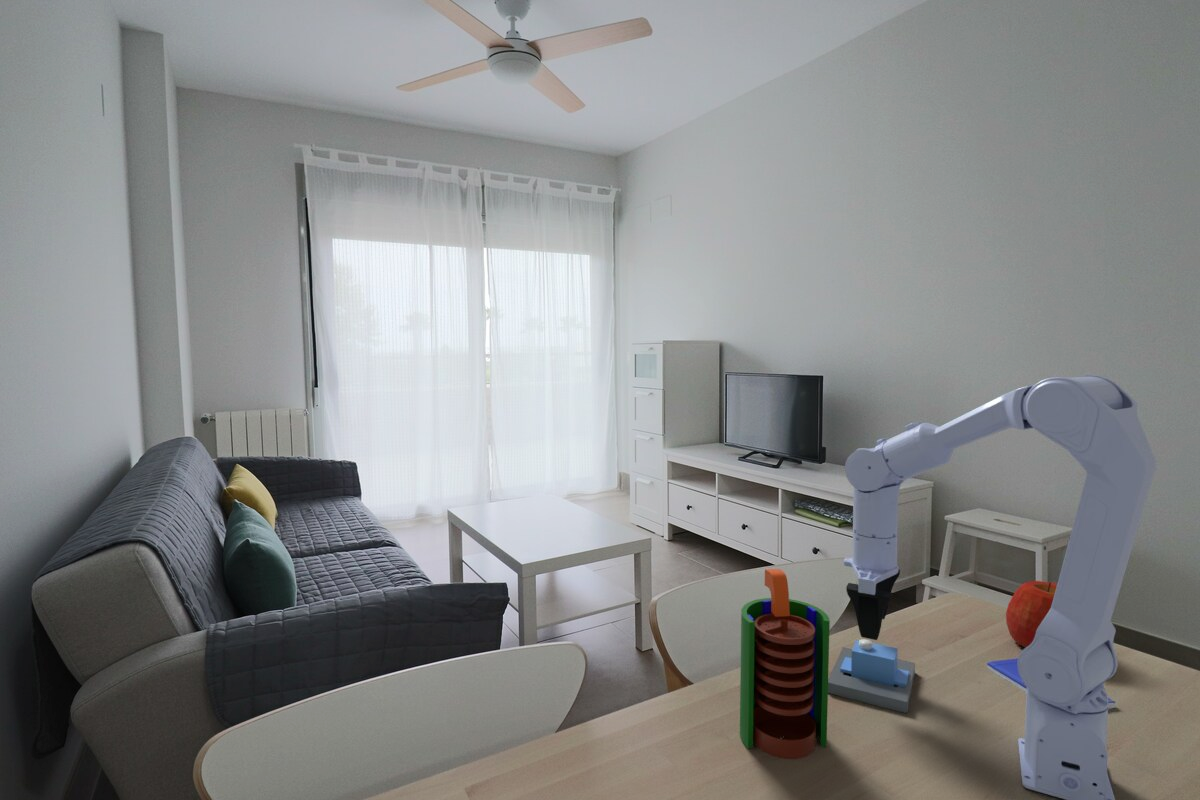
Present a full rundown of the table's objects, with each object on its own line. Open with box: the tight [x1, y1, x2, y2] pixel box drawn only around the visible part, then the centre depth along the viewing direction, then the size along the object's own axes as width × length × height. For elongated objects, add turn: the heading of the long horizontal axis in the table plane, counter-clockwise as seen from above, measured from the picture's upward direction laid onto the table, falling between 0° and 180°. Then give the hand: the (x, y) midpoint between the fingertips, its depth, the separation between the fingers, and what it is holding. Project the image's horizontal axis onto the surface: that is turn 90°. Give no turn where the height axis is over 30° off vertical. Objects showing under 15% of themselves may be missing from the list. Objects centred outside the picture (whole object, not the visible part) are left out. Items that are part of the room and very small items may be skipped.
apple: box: [1005, 580, 1058, 648], centre depth 98 cm, size 11×11×11 cm
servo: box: [840, 638, 909, 687], centre depth 88 cm, size 4×8×6 cm, turn 59°
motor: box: [739, 568, 831, 760], centre depth 76 cm, size 10×9×20 cm
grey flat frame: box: [828, 646, 916, 714], centre depth 89 cm, size 12×10×2 cm
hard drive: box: [986, 657, 1116, 710], centre depth 87 cm, size 2×8×12 cm
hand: (873, 627), depth 88 cm, fingers open, 7 cm apart
